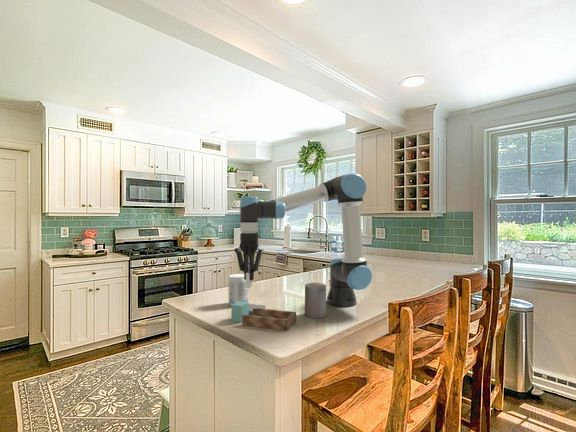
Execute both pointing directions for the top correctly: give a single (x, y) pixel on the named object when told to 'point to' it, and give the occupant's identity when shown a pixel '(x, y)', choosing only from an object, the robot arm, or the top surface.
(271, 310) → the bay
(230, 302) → the supplement tub
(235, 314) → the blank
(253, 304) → the trivet
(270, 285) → the top surface
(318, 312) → the pillar candle
